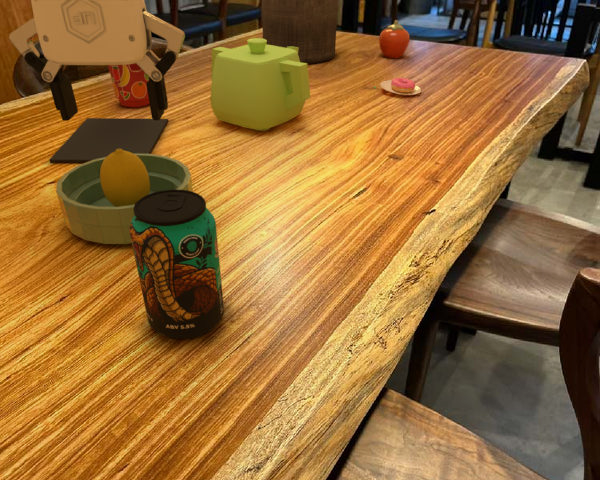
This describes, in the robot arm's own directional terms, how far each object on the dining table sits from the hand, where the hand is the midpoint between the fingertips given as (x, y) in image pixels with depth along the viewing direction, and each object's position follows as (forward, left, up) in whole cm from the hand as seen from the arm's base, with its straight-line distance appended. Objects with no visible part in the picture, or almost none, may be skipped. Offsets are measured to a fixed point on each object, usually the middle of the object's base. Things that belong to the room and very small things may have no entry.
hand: (114, 116), depth 59 cm
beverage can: (+10, -20, -13) cm, 25 cm away
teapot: (+15, +37, -13) cm, 42 cm away
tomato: (+44, +82, -13) cm, 94 cm away
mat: (-9, +25, -12) cm, 30 cm away
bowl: (0, 0, -12) cm, 12 cm away
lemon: (0, 0, -12) cm, 12 cm away
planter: (+21, +82, -13) cm, 86 cm away
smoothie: (-10, +44, -13) cm, 47 cm away
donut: (+40, +53, -13) cm, 67 cm away
